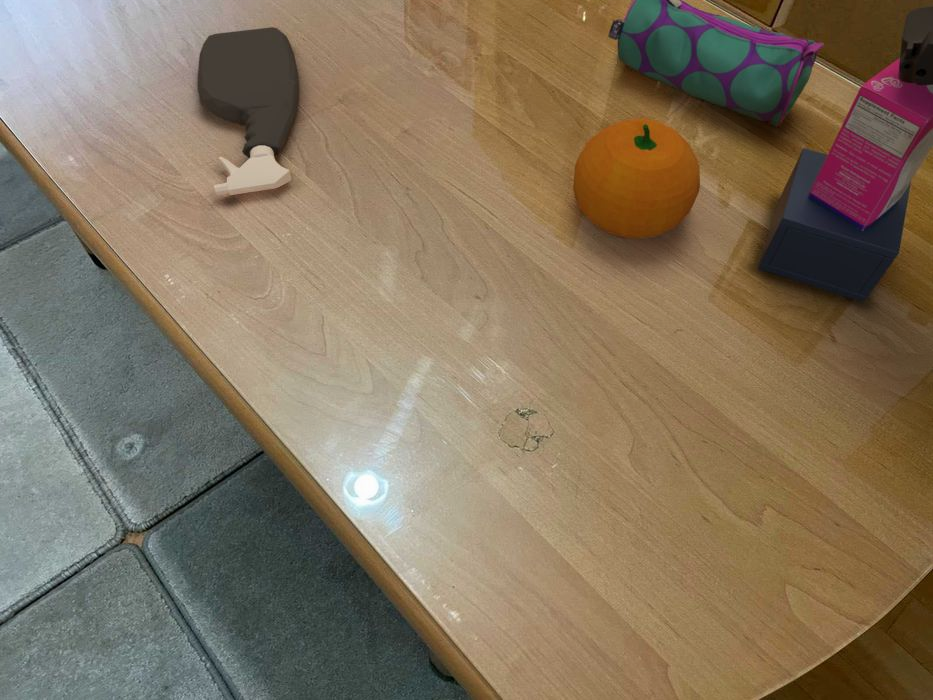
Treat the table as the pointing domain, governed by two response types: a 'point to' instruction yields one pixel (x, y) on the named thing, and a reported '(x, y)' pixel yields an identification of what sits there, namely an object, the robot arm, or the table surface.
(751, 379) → the table surface
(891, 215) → the lid
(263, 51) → the spray bottle
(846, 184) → the supplement box
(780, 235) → the dark blue square block
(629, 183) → the fruit
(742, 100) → the pencil case
